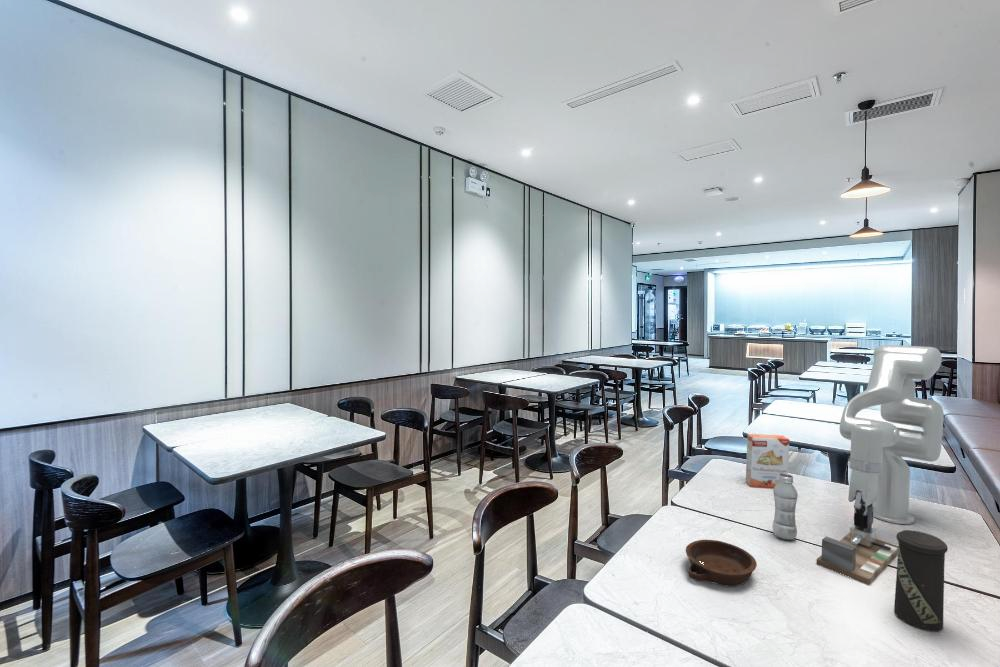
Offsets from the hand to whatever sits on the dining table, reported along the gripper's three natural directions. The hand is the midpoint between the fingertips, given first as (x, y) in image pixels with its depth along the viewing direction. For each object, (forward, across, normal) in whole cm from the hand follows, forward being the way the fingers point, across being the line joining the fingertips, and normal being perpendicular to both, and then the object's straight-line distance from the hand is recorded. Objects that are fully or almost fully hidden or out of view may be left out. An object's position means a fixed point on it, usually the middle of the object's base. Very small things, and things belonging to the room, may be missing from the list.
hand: (863, 523), depth 136 cm
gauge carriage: (+5, +3, +2) cm, 6 cm away
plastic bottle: (+7, +13, -16) cm, 22 cm away
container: (+7, +29, +18) cm, 35 cm away
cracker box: (+8, -27, -40) cm, 49 cm away
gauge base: (+7, +8, +2) cm, 11 cm away
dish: (+8, +48, -18) cm, 52 cm away
